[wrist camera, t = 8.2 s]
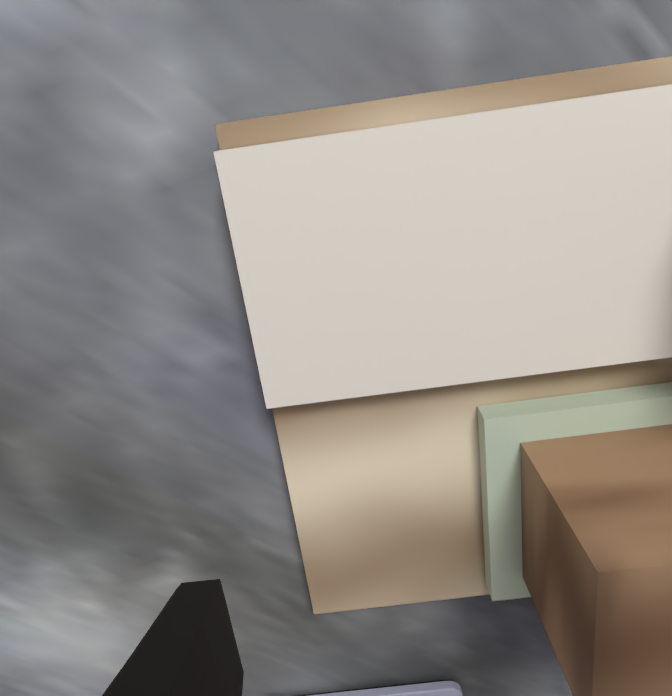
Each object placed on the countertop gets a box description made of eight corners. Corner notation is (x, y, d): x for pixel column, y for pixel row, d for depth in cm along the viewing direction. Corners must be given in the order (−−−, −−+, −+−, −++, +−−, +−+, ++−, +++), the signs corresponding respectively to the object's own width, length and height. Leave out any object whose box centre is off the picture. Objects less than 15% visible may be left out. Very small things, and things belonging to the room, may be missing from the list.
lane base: (762, 540, 20) (783, 561, 19) (314, 591, 20) (313, 614, 20) (856, 29, 14) (895, 22, 13) (222, 124, 15) (215, 124, 14)
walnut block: (681, 558, 18) (806, 713, 13) (522, 576, 18) (590, 735, 13) (697, 420, 16) (850, 543, 11) (520, 442, 16) (597, 572, 11)
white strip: (761, 332, 16) (932, 415, 11) (269, 395, 16) (247, 498, 12) (803, 64, 13) (1043, 35, 9) (220, 150, 14) (167, 163, 9)
